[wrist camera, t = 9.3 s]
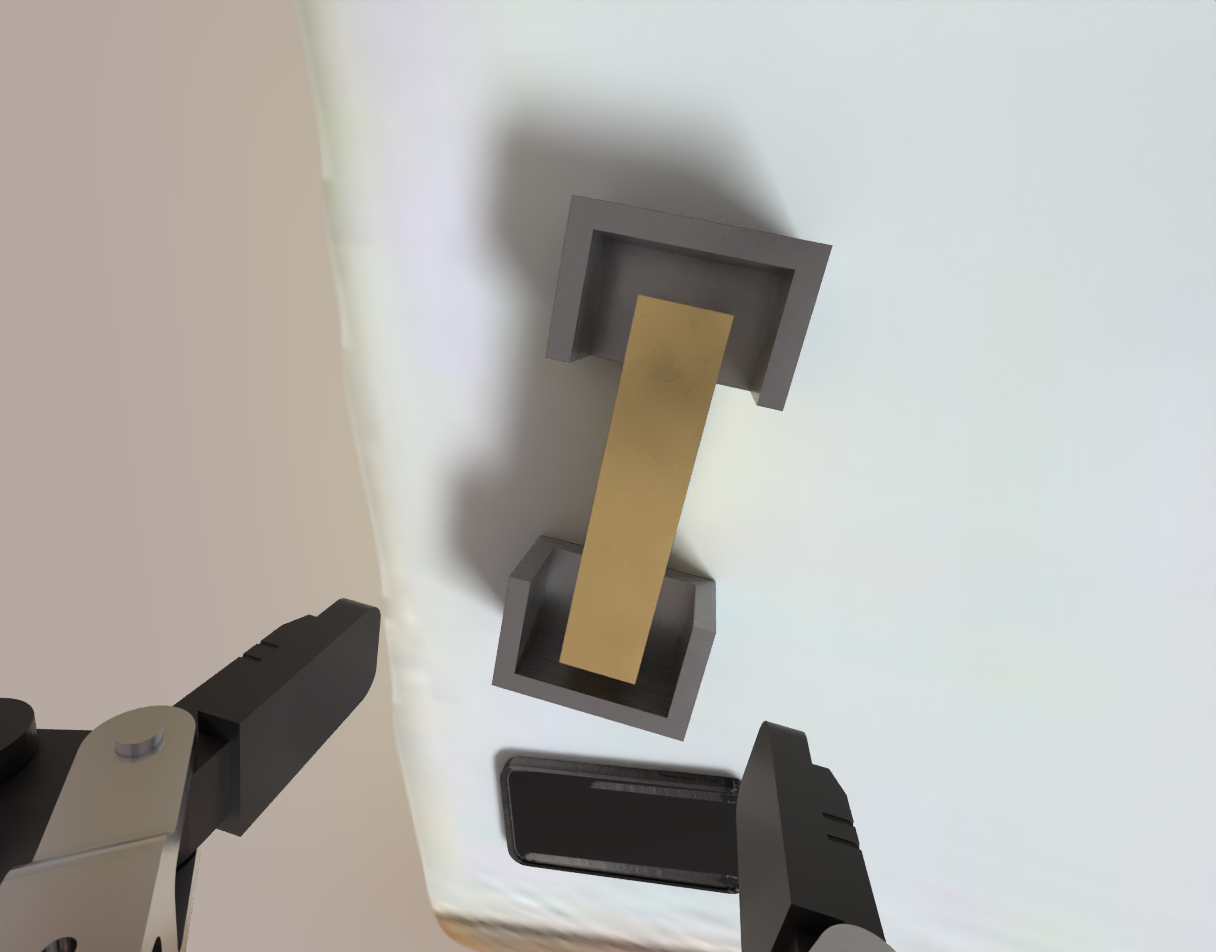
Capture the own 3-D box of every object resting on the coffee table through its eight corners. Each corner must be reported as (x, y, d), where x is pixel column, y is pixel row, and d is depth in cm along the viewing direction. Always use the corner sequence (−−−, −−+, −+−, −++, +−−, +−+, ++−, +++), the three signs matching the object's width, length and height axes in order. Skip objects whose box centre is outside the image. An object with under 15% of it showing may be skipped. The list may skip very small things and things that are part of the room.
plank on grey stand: (598, 215, 26) (572, 195, 21) (809, 257, 25) (832, 245, 20) (524, 630, 33) (491, 685, 28) (687, 676, 32) (683, 741, 27)
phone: (749, 896, 34) (509, 864, 37) (748, 878, 35) (514, 848, 38) (753, 788, 32) (498, 762, 35) (752, 773, 33) (504, 749, 36)
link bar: (652, 297, 25) (638, 294, 21) (730, 314, 25) (734, 315, 20) (583, 607, 30) (559, 662, 26) (647, 625, 30) (635, 684, 25)
